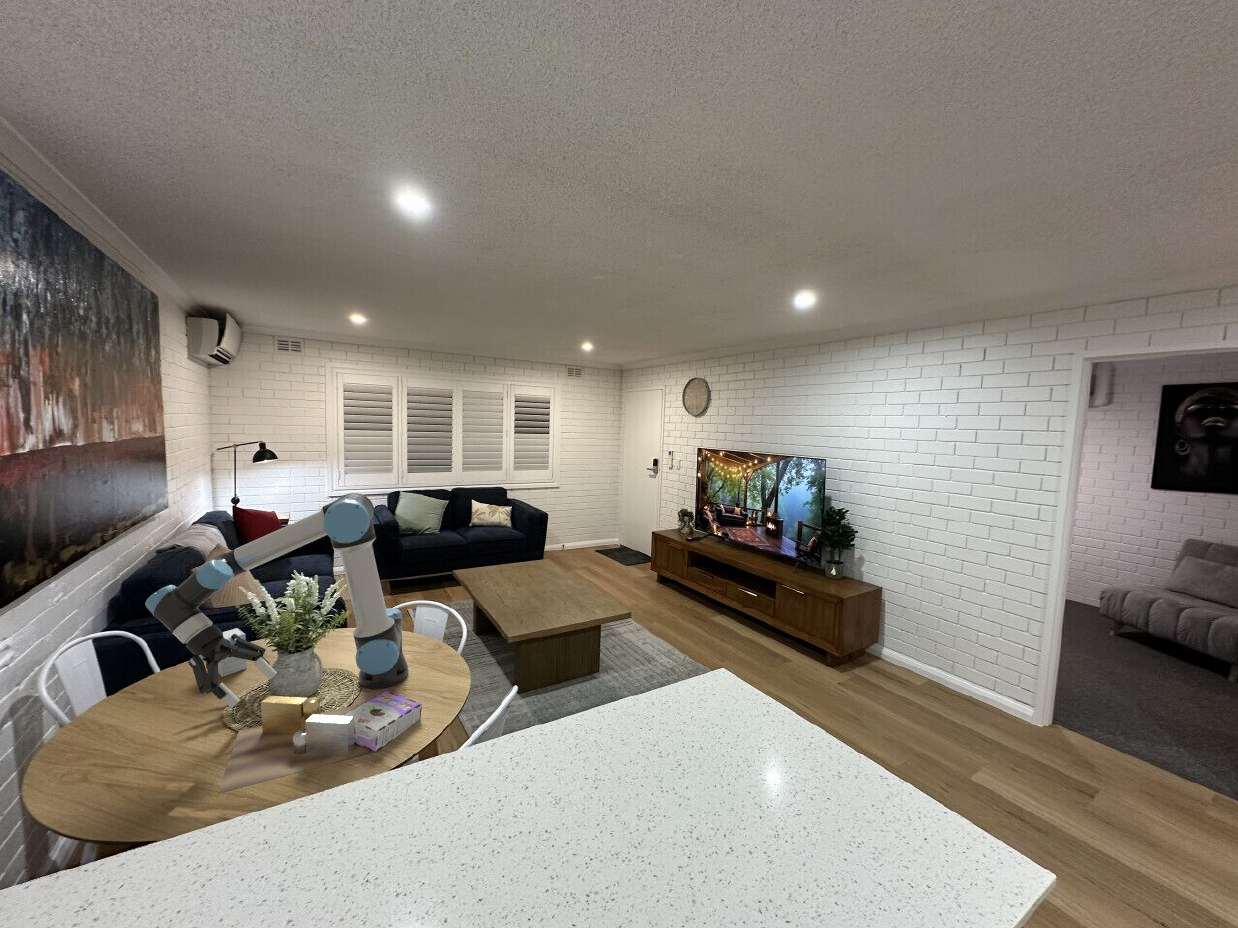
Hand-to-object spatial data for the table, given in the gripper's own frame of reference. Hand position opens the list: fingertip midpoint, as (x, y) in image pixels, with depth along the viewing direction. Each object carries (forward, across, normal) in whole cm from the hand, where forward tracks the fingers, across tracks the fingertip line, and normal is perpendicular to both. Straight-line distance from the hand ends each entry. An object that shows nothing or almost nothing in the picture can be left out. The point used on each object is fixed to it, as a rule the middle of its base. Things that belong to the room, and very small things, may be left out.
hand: (255, 689), depth 137 cm
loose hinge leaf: (+15, 0, -1) cm, 15 cm away
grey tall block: (-14, -31, -33) cm, 47 cm away
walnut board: (+20, +4, +2) cm, 21 cm away
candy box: (+32, -12, +18) cm, 39 cm away
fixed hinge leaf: (+24, +7, +8) cm, 26 cm away
